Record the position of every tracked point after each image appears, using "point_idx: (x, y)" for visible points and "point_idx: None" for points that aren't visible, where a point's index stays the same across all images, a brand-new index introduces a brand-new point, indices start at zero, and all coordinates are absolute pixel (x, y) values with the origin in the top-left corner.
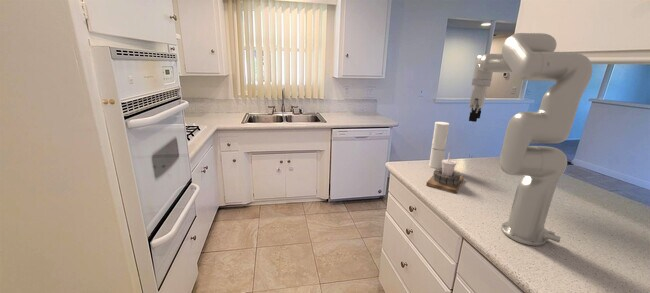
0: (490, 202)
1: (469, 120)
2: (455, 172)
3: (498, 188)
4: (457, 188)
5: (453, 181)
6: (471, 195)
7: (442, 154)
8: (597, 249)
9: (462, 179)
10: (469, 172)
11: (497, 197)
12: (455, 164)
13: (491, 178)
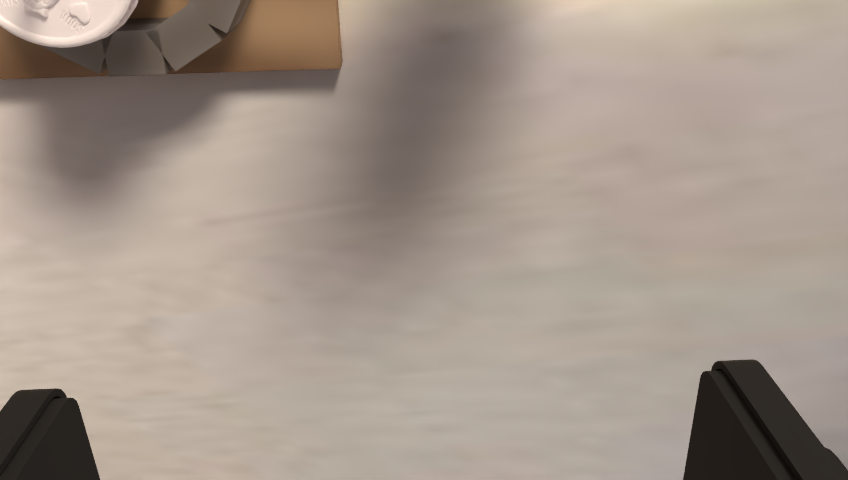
0: (66, 300)
1: (25, 406)
2: (211, 12)
3: (365, 307)
4: (53, 75)
5: None
6: (69, 181)
7: None
8: None
9: (278, 67)
10: (592, 62)
11: (190, 322)
12: (48, 44)
13: (552, 240)
